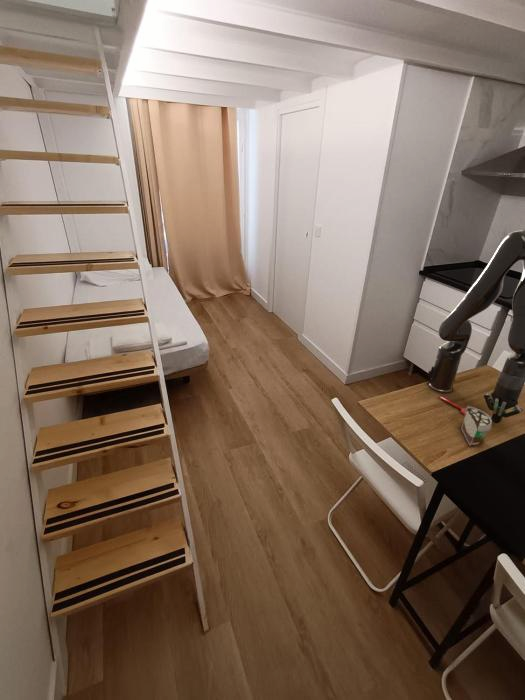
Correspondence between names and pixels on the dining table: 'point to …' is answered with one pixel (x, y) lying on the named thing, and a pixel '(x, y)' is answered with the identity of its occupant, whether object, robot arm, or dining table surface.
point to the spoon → (463, 410)
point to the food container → (475, 425)
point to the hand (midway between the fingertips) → (495, 422)
